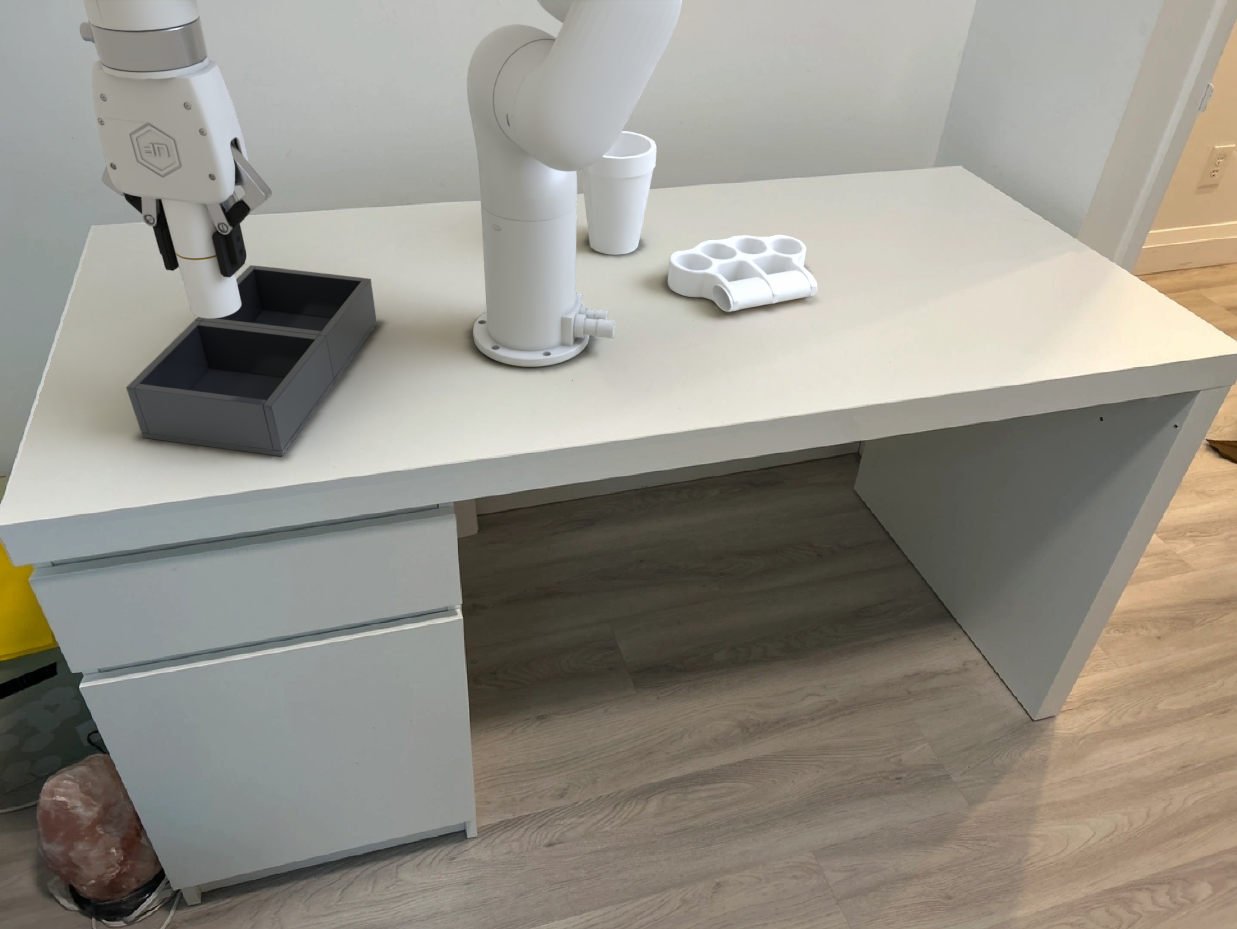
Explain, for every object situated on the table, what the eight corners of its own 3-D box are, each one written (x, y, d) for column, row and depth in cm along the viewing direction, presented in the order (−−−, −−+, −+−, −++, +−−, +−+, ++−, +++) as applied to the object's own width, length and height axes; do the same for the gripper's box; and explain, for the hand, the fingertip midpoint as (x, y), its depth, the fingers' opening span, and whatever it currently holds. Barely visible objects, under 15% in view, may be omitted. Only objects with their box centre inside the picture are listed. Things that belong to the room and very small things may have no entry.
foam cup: (663, 240, 125) (670, 141, 117) (625, 267, 119) (630, 164, 111) (602, 221, 129) (605, 124, 121) (563, 246, 123) (563, 146, 114)
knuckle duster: (704, 324, 108) (649, 268, 119) (838, 298, 114) (774, 247, 125) (707, 298, 106) (651, 243, 117) (843, 273, 112) (778, 222, 123)
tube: (225, 321, 84) (185, 151, 74) (180, 314, 84) (134, 145, 75) (250, 298, 87) (214, 133, 78) (206, 292, 87) (166, 127, 78)
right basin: (377, 324, 106) (371, 278, 102) (334, 384, 96) (326, 335, 93) (260, 310, 107) (250, 264, 104) (207, 367, 98) (194, 319, 94)
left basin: (334, 384, 96) (326, 335, 93) (282, 456, 87) (271, 406, 84) (207, 367, 98) (194, 319, 94) (142, 437, 88) (125, 387, 85)
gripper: (15, 48, 70) (90, 275, 81) (234, 69, 68) (280, 298, 79) (77, 22, 76) (139, 238, 87) (280, 41, 74) (316, 258, 85)
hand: (206, 264), depth 83 cm, fingers closed on tube, 4 cm apart
